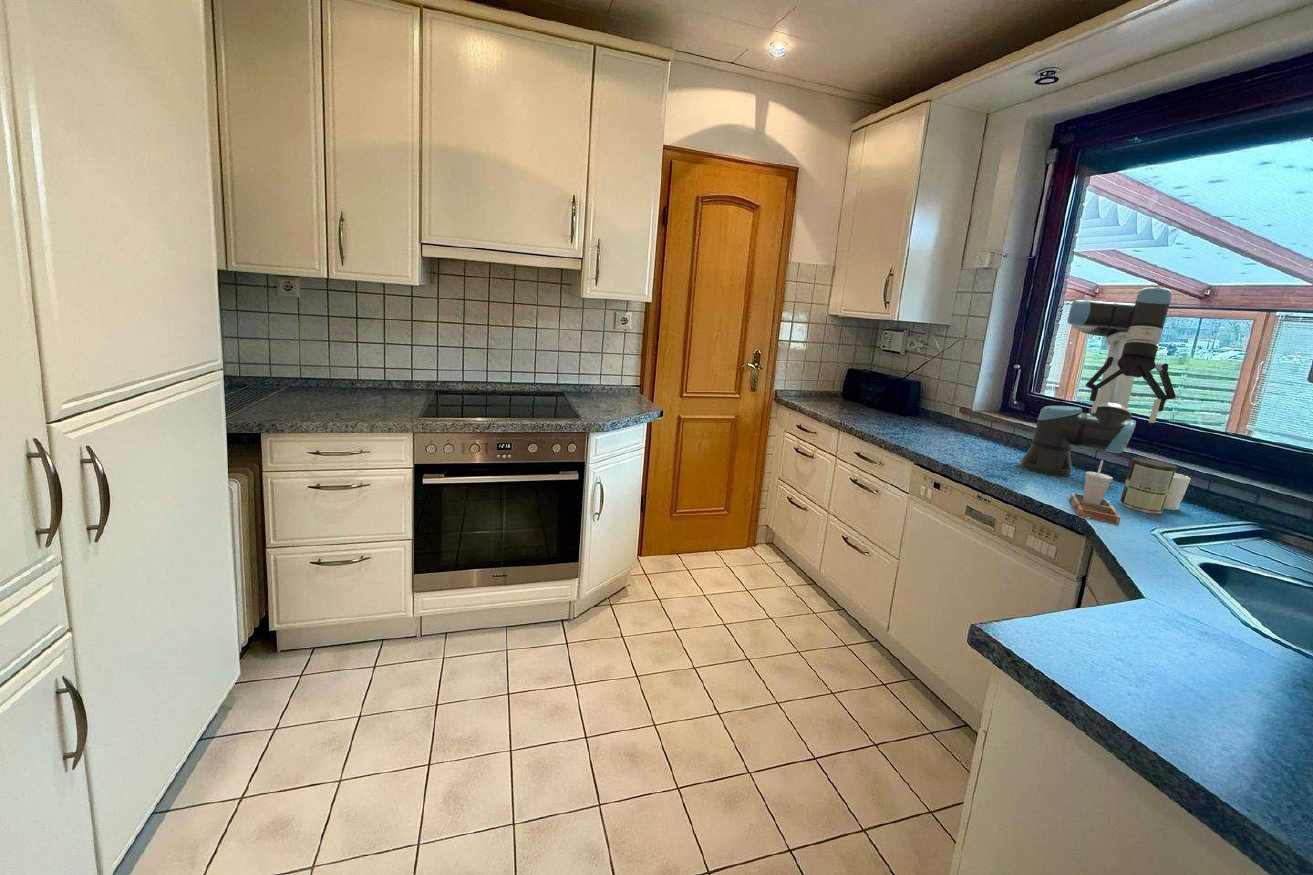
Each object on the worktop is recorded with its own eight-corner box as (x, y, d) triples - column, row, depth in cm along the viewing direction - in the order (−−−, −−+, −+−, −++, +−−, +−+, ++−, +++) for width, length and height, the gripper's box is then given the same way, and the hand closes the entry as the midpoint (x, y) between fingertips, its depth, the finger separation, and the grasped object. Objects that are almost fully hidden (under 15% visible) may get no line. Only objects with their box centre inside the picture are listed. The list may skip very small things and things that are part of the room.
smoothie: (1071, 503, 170) (1084, 457, 166) (1086, 502, 172) (1099, 457, 169) (1094, 511, 164) (1108, 463, 160) (1108, 510, 166) (1122, 463, 163)
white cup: (1186, 510, 174) (1196, 478, 172) (1170, 511, 171) (1180, 479, 169) (1156, 501, 181) (1166, 470, 179) (1140, 502, 178) (1150, 471, 176)
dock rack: (1069, 498, 174) (1070, 492, 173) (1106, 506, 170) (1108, 500, 169) (1077, 515, 158) (1079, 508, 158) (1118, 524, 154) (1121, 517, 154)
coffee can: (1110, 499, 178) (1124, 455, 174) (1146, 503, 177) (1160, 459, 174) (1134, 511, 168) (1148, 464, 164) (1171, 515, 167) (1187, 469, 164)
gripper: (1091, 335, 166) (1072, 408, 167) (1203, 348, 155) (1182, 426, 156) (1085, 340, 173) (1067, 410, 174) (1192, 352, 162) (1172, 427, 163)
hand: (1121, 417), depth 165 cm, fingers open, 13 cm apart
